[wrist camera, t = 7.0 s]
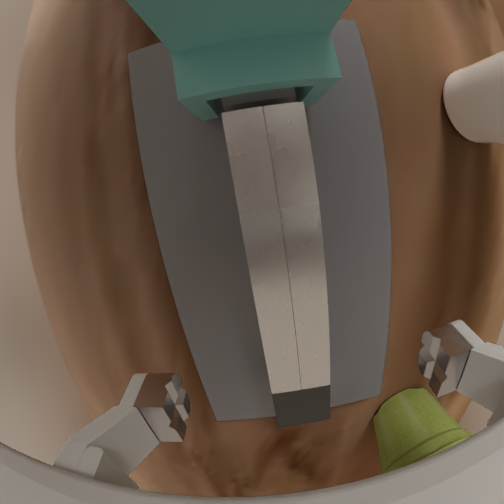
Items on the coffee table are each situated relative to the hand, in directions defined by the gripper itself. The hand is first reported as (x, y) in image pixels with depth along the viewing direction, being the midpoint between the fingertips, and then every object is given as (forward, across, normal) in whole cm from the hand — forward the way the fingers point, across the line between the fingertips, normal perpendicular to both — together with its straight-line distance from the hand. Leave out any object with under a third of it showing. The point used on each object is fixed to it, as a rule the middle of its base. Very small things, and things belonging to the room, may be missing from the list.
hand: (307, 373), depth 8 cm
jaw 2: (+8, -1, 0) cm, 8 cm away
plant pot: (+9, -10, +17) cm, 22 cm away
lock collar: (+8, 0, -10) cm, 13 cm away
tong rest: (+10, 0, 0) cm, 10 cm away
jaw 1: (+8, +1, 0) cm, 8 cm away
